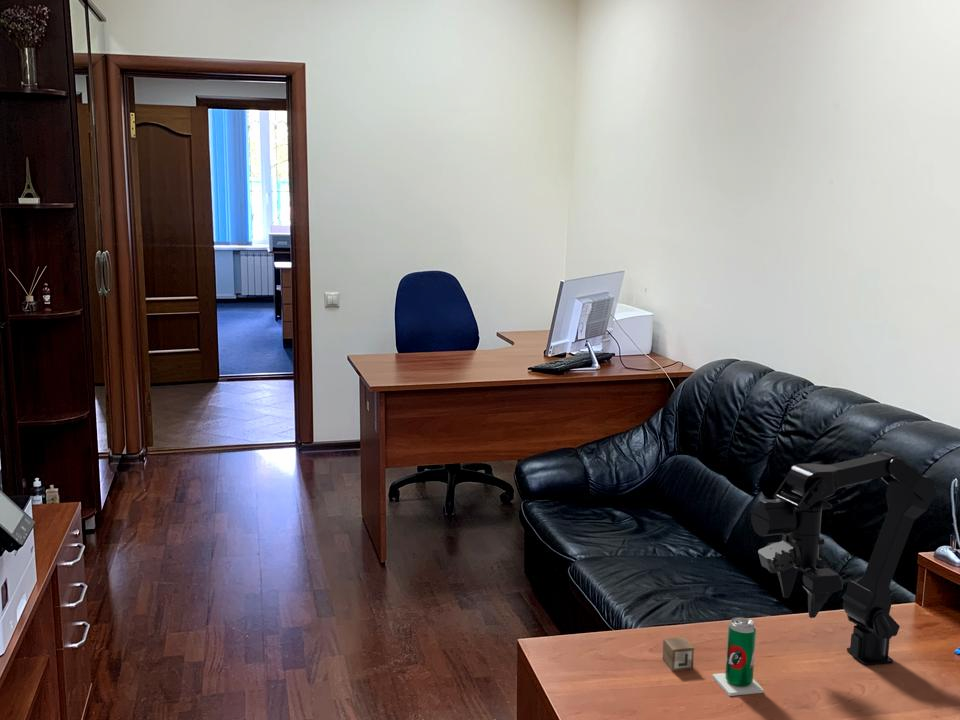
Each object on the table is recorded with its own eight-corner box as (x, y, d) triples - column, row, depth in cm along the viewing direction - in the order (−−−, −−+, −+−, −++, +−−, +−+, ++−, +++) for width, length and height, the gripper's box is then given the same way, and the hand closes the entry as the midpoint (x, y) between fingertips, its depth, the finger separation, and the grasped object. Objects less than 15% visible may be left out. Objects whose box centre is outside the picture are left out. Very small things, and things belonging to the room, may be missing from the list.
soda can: (756, 688, 165) (760, 628, 163) (729, 688, 165) (733, 628, 163) (747, 674, 170) (751, 616, 168) (721, 674, 170) (725, 616, 168)
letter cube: (683, 658, 178) (684, 637, 177) (693, 669, 173) (694, 648, 172) (662, 660, 177) (663, 639, 176) (672, 672, 172) (673, 650, 171)
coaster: (745, 673, 171) (745, 671, 171) (763, 692, 165) (763, 689, 165) (712, 677, 170) (712, 674, 170) (729, 696, 163) (729, 693, 163)
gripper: (742, 517, 177) (737, 590, 179) (792, 550, 158) (786, 632, 161) (792, 514, 179) (787, 587, 181) (847, 547, 161) (841, 627, 163)
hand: (798, 607), depth 171 cm, fingers open, 9 cm apart
